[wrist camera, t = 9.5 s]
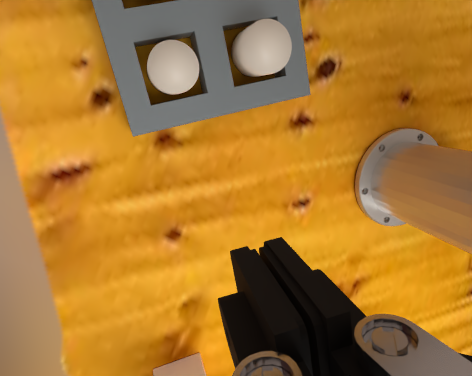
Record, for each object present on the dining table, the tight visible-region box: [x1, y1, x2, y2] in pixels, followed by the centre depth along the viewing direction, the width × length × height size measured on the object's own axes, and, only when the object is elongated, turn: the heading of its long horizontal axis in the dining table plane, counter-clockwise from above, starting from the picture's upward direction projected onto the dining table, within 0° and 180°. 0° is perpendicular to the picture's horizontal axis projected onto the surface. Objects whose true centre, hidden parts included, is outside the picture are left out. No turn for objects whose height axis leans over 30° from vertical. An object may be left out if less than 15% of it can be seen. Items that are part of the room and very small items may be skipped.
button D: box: [147, 40, 199, 95], centre depth 30 cm, size 4×4×4 cm
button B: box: [231, 19, 292, 77], centre depth 30 cm, size 4×4×4 cm
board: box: [92, 0, 310, 136], centre depth 31 cm, size 18×18×3 cm
